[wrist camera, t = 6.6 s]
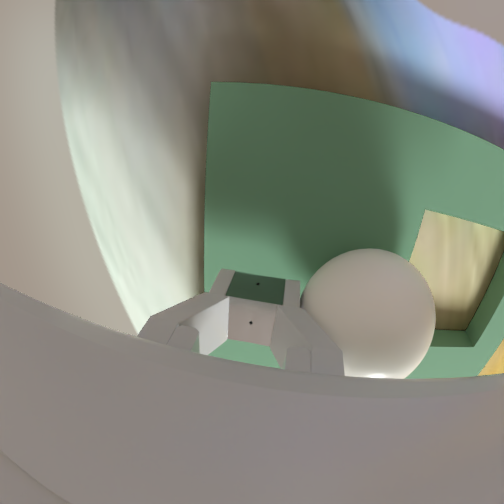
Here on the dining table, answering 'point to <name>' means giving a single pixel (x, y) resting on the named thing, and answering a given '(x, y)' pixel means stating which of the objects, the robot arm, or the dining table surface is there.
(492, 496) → the robot arm
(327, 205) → the putting mat
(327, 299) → the ball
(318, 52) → the dining table surface
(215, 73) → the dining table surface
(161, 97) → the dining table surface
